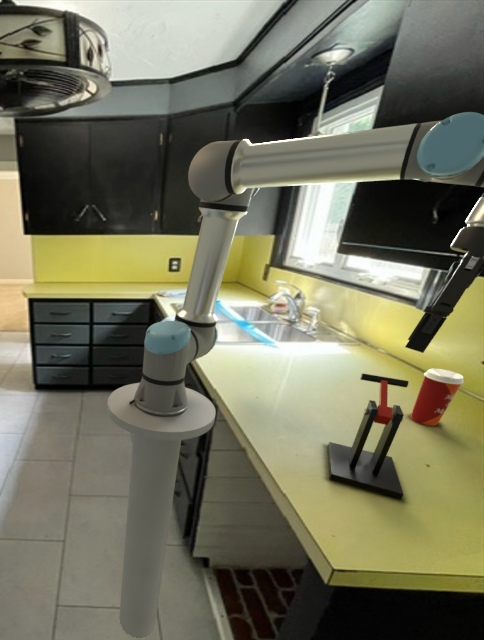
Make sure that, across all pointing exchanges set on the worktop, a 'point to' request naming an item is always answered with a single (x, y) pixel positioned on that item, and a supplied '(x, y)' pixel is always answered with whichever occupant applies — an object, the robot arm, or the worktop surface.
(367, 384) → the worktop surface
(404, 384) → the lever
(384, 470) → the bracket
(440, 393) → the paper cup
